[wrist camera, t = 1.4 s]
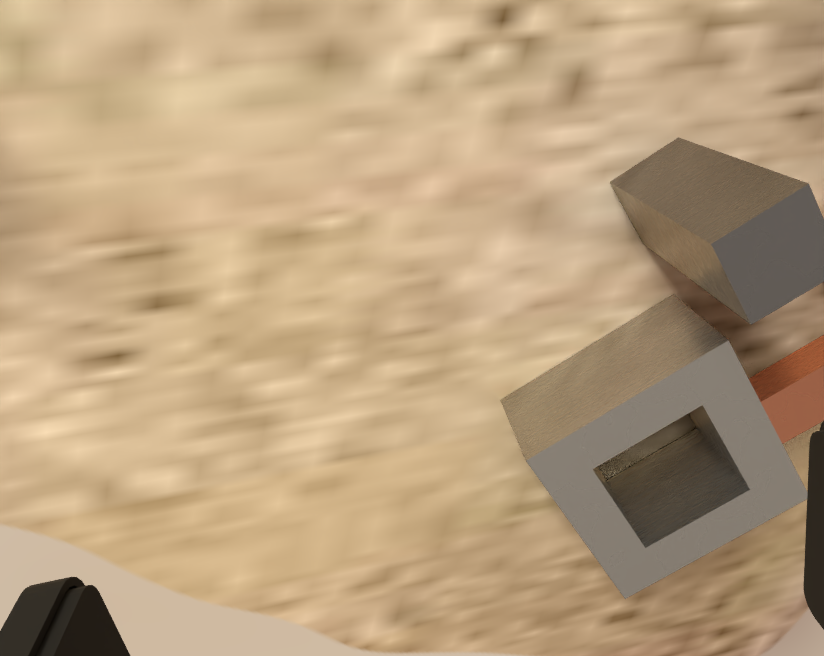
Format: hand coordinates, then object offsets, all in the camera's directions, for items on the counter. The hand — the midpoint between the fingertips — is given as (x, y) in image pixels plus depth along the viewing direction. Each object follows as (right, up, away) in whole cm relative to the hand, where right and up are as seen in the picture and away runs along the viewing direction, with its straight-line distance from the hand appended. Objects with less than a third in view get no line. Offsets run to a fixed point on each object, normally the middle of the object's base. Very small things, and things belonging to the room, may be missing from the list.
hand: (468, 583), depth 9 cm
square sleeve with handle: (+12, +1, +25) cm, 28 cm away
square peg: (+10, +9, +21) cm, 25 cm away
